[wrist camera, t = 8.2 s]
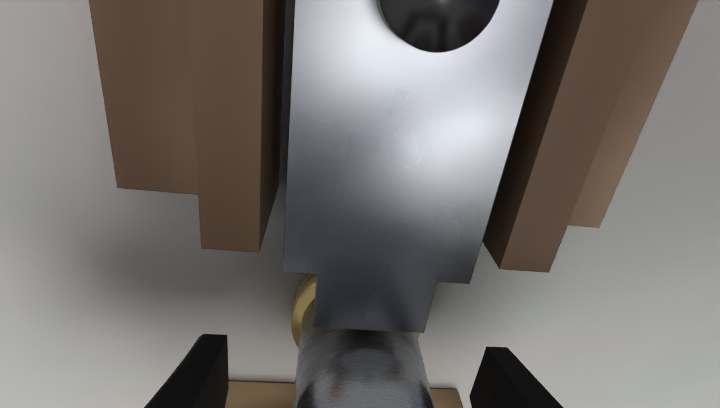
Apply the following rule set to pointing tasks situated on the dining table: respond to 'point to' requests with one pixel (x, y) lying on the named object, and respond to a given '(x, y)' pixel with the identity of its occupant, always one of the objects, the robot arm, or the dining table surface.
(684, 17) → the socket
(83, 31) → the dining table surface
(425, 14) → the key bar
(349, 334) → the brass-collared grey cylinder
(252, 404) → the rack
